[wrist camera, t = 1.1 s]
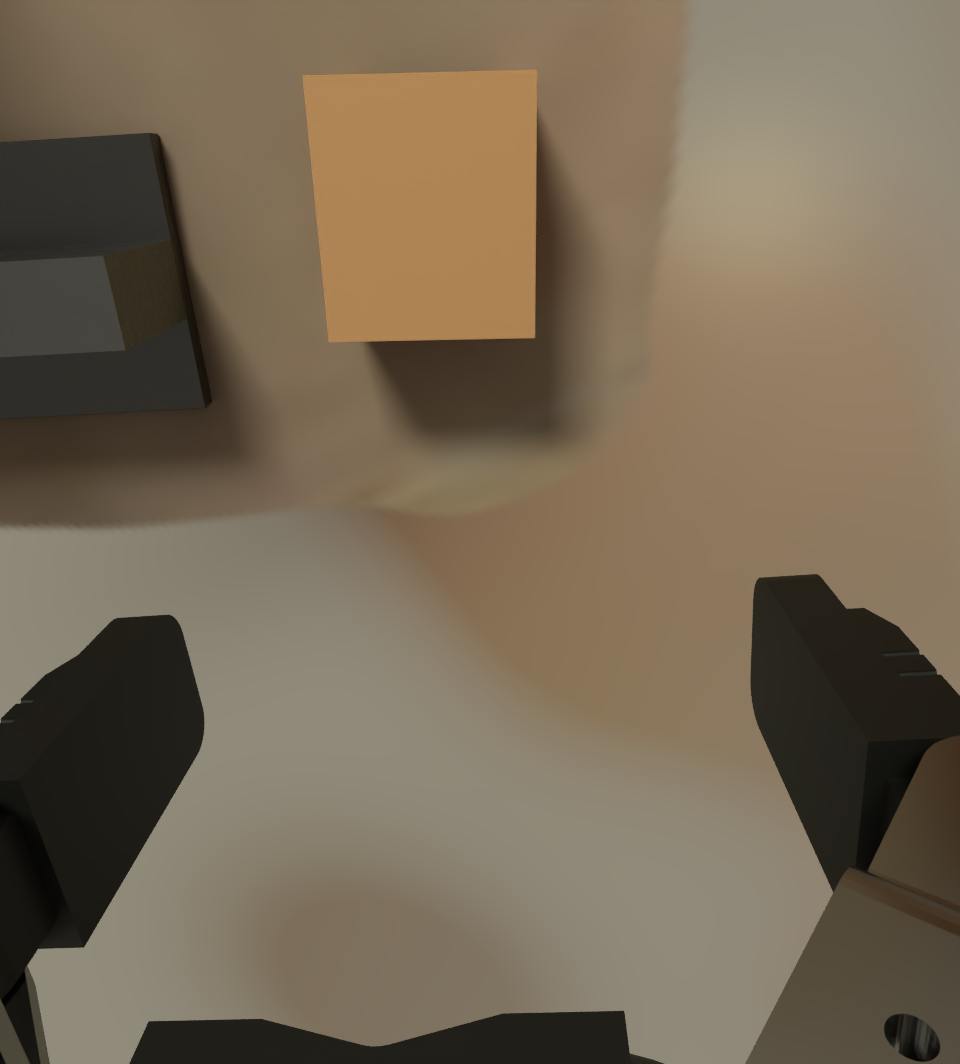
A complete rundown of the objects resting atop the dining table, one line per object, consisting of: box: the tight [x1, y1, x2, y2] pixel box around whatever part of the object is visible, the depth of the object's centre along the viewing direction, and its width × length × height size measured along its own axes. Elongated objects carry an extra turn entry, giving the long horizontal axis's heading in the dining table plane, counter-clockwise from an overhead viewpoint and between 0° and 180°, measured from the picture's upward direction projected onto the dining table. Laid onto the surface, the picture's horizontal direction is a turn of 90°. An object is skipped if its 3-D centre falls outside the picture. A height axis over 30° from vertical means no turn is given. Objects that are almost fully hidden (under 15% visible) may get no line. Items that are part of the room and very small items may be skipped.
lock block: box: [303, 70, 537, 342], centre depth 25 cm, size 7×6×5 cm
